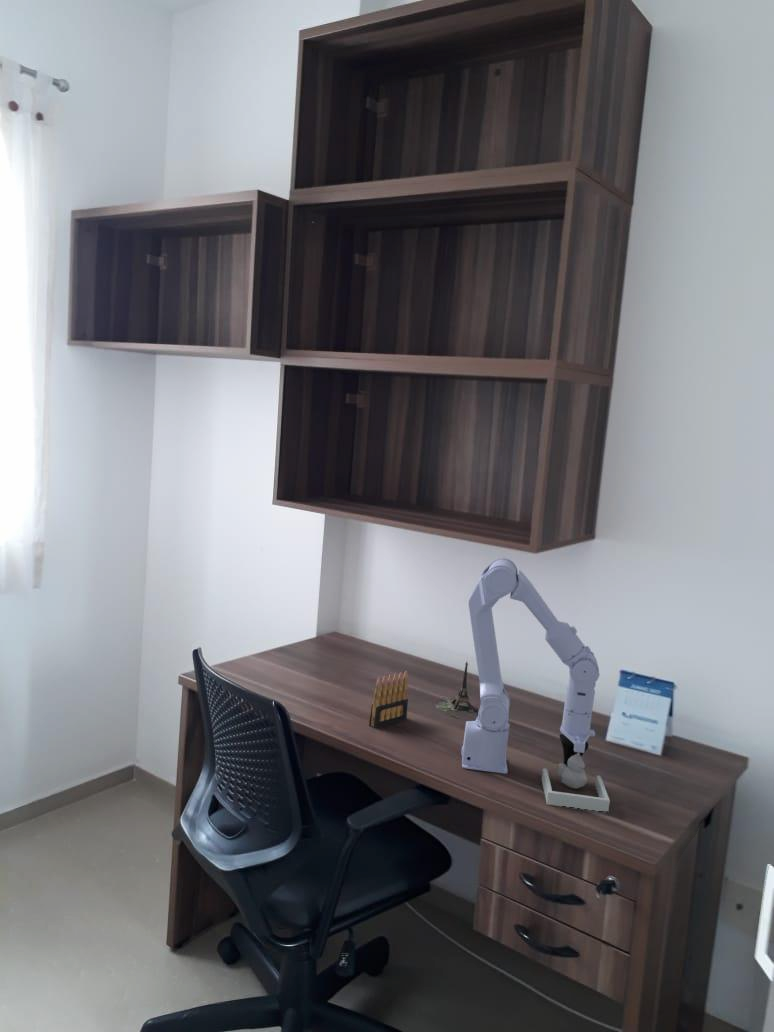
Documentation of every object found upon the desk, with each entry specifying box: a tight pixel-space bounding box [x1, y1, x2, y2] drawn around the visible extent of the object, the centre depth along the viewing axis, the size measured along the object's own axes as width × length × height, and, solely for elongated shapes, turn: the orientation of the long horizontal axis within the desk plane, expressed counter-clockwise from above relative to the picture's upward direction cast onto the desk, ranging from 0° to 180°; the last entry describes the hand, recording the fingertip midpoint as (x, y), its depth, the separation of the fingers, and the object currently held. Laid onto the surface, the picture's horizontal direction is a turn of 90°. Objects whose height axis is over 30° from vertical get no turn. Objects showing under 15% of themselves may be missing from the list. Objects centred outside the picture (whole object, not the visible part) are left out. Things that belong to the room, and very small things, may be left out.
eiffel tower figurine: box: [434, 661, 475, 719], centre depth 206 cm, size 15×10×13 cm
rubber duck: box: [557, 752, 588, 790], centre depth 167 cm, size 5×7×8 cm
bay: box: [541, 767, 611, 812], centre depth 163 cm, size 12×11×2 cm
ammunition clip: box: [368, 670, 409, 729], centre depth 191 cm, size 11×2×12 cm, turn 134°
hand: (569, 771), depth 171 cm, fingers closed
